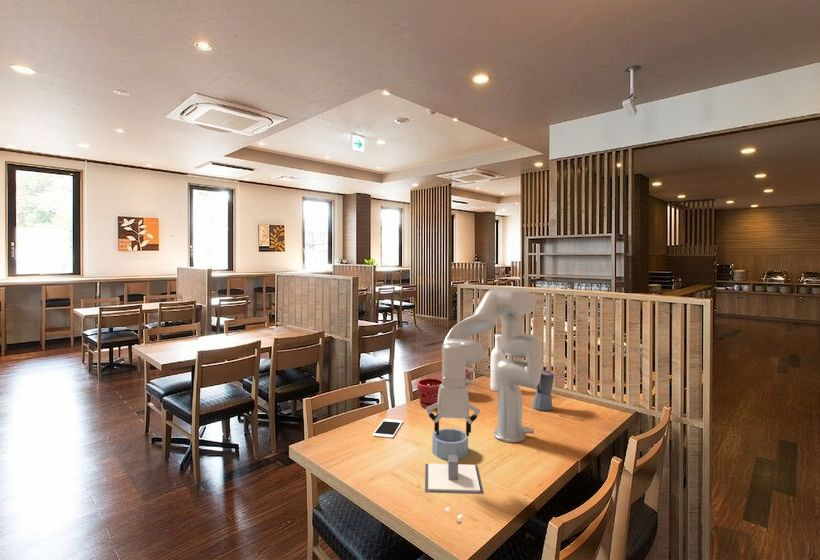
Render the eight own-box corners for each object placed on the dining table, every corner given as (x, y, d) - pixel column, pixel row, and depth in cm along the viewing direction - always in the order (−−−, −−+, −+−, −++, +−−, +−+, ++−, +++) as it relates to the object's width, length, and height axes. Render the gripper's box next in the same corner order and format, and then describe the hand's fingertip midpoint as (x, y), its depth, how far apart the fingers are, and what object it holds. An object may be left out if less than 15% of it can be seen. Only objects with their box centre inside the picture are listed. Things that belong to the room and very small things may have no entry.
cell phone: (403, 422, 191) (403, 420, 191) (393, 439, 174) (393, 437, 174) (384, 420, 193) (384, 418, 193) (371, 437, 176) (371, 435, 175)
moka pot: (557, 405, 212) (558, 365, 211) (548, 415, 199) (549, 372, 198) (537, 402, 217) (538, 362, 216) (528, 411, 204) (528, 369, 203)
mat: (477, 467, 150) (477, 465, 150) (483, 497, 132) (483, 493, 132) (425, 466, 151) (425, 463, 151) (424, 495, 133) (424, 492, 133)
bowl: (466, 446, 166) (466, 428, 166) (469, 462, 153) (469, 443, 153) (432, 445, 167) (432, 428, 167) (432, 461, 154) (432, 442, 154)
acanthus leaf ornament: (459, 527, 118) (459, 520, 118) (441, 515, 124) (441, 509, 124) (477, 516, 123) (477, 510, 123) (460, 505, 128) (460, 499, 128)
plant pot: (426, 399, 221) (426, 376, 220) (449, 404, 213) (449, 380, 212) (411, 406, 210) (412, 382, 209) (434, 412, 202) (434, 387, 202)
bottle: (488, 387, 241) (489, 333, 240) (502, 386, 242) (503, 333, 240) (492, 391, 233) (493, 336, 232) (506, 391, 234) (507, 336, 232)
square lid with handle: (474, 466, 149) (475, 447, 148) (480, 492, 133) (480, 471, 133) (428, 465, 150) (428, 446, 149) (428, 490, 134) (428, 469, 133)
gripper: (479, 379, 143) (478, 430, 143) (426, 378, 143) (425, 428, 144) (482, 386, 135) (480, 439, 136) (426, 384, 136) (425, 437, 137)
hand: (452, 434), depth 140 cm, fingers open, 9 cm apart
